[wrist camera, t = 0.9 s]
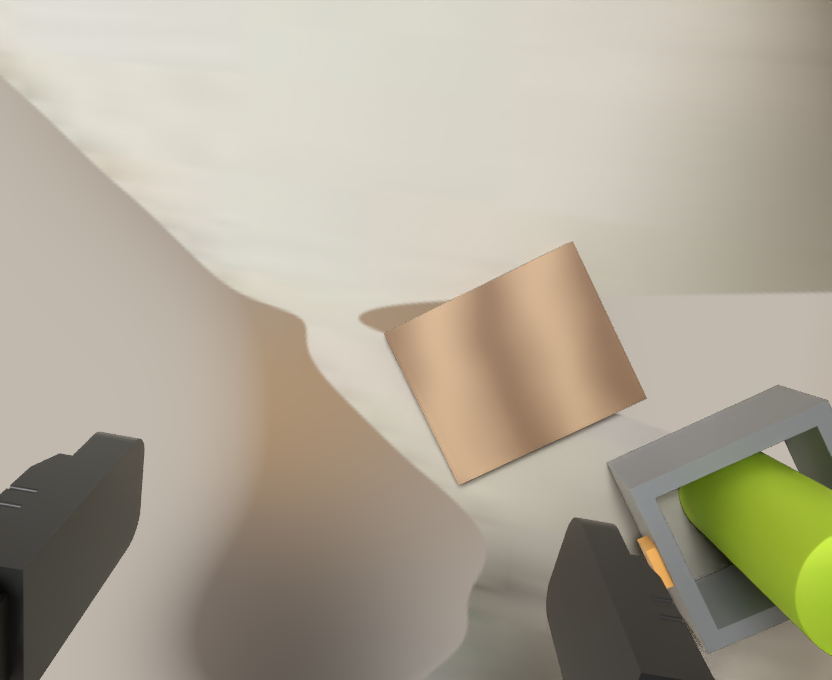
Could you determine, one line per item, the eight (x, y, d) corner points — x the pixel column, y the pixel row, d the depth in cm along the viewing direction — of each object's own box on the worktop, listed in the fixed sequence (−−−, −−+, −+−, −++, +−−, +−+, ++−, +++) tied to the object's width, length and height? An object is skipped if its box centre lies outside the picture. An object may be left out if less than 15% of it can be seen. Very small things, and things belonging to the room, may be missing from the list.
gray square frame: (777, 384, 38) (827, 400, 33) (846, 533, 38) (905, 570, 33) (597, 466, 39) (619, 494, 34) (666, 610, 39) (697, 658, 34)
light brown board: (567, 243, 38) (572, 241, 36) (639, 393, 38) (646, 398, 37) (386, 331, 39) (383, 333, 37) (458, 477, 39) (458, 485, 38)
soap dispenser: (660, 536, 39) (881, 803, 19) (696, 430, 38) (965, 589, 18) (754, 564, 39) (1076, 862, 19) (792, 457, 38) (1168, 649, 18)
